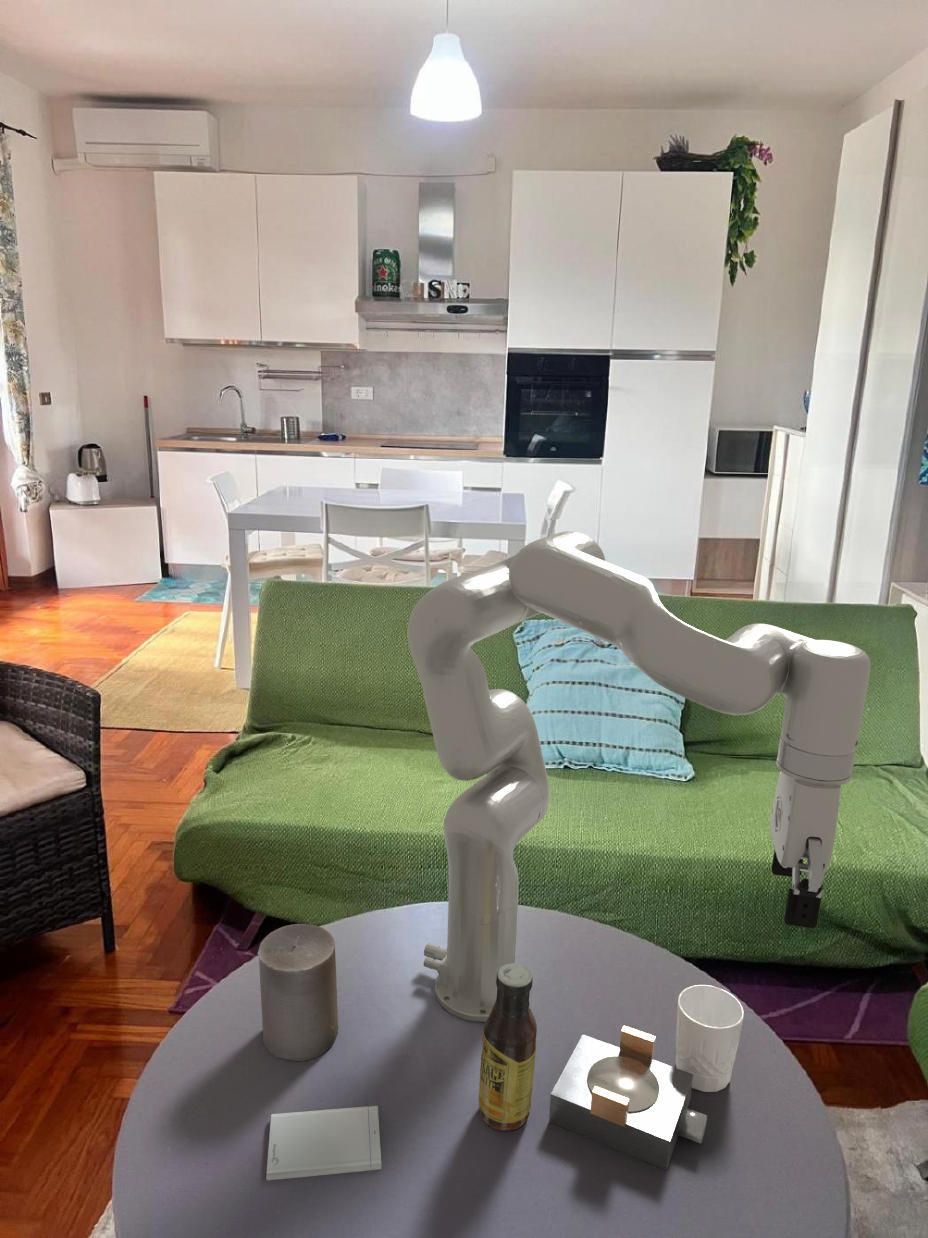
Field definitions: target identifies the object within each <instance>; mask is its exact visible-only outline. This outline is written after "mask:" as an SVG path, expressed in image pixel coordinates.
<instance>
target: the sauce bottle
mask: <svg viewBox="0 0 928 1238" xmlns="http://www.w3.org/2000/svg"><path fill="white" fill-rule="evenodd" d="M496 985H497V997H496V1002H495V1004H494V1007H493V1009H492V1011H491V1013H490V1015H489V1017H488V1020H487V1021H485V1024H484V1026H483V1030H482V1038H481V1039H482V1042H481V1055H480V1056H481V1057H480V1068H479V1083H478V1085H479V1087H478V1105H479V1106H478V1107H479V1113H480V1116H481V1119H482V1120H483V1121H484V1122H485V1123H486V1124H487V1125H489V1127H492V1128H493V1129H494V1130H496V1131H500V1132H503V1131H514V1130H517V1129H519V1128H520V1127H522V1126H523V1125H524V1124H525V1122H526V1121H527V1120H528V1118H529V1116H530V1112H531V1111H530V1110H531V1107H532V1106H531V1105H532V1098H533V1097H532V1095H533V1087H534V1077H535V1076H534V1074H535V1062H536V1054H537V1053H536V1052H537V1041H536V1040H537V1034H538V1033H537V1031H538V1029H537V1026H538V1024H537V1021H536V1019H535V1015H534V1013H533V1012H532V1009H531V1008H530V995H531V994H530V993H531V991H532V987H533V974H532V972H531V970H530V969H529V968H528V967H527V966H525V965H522V964H519V963H515V964H514V963H512V964H506V965H504V966H502V967H501V968H500V969H499V970H498V972H497V977H496Z"/></svg>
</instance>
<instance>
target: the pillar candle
mask: <svg viewBox="0 0 928 1238" xmlns="http://www.w3.org/2000/svg"><path fill="white" fill-rule="evenodd" d="M257 956H258V965H259V984H260V985H259V986H260V999H261V1000H260V1002H261V1003H260V1004H261V1017H262V1018H261V1019H262V1021H261V1023H262V1039H263V1040H262V1041H263V1044H264V1047H265V1049H266V1050H267V1052H268V1053H269V1054H270V1055H272V1056H273V1057H275V1058H277V1059H282V1060H288V1061H294V1062H296V1061H297V1062H304V1061H309V1060H312V1059H314V1058H317V1057H319V1056H321V1055H323V1054H324V1053H326V1052H327V1051H328V1050H329V1049H330V1048H331V1047H332V1046H333V1045H334V1044H335V1041H336V1040H337V1037H338V1034H339V1016H338V1015H339V1013H338V1012H339V1011H338V989H337V988H338V987H337V986H338V985H337V960H336V942H335V939H334V937H333V935H332V934H331V932H329V931H328V930H326V929H325V928H323V927H321V926H318V925H315V924H308V923H295V924H288V925H284V926H281V927H279V928H276V929H275V930H273V931H271V932H270V933H269V934H267V935H266V936H265V937H264V938H263V939H262V941H261V942H260V944H259V947H258V951H257Z"/></svg>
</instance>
